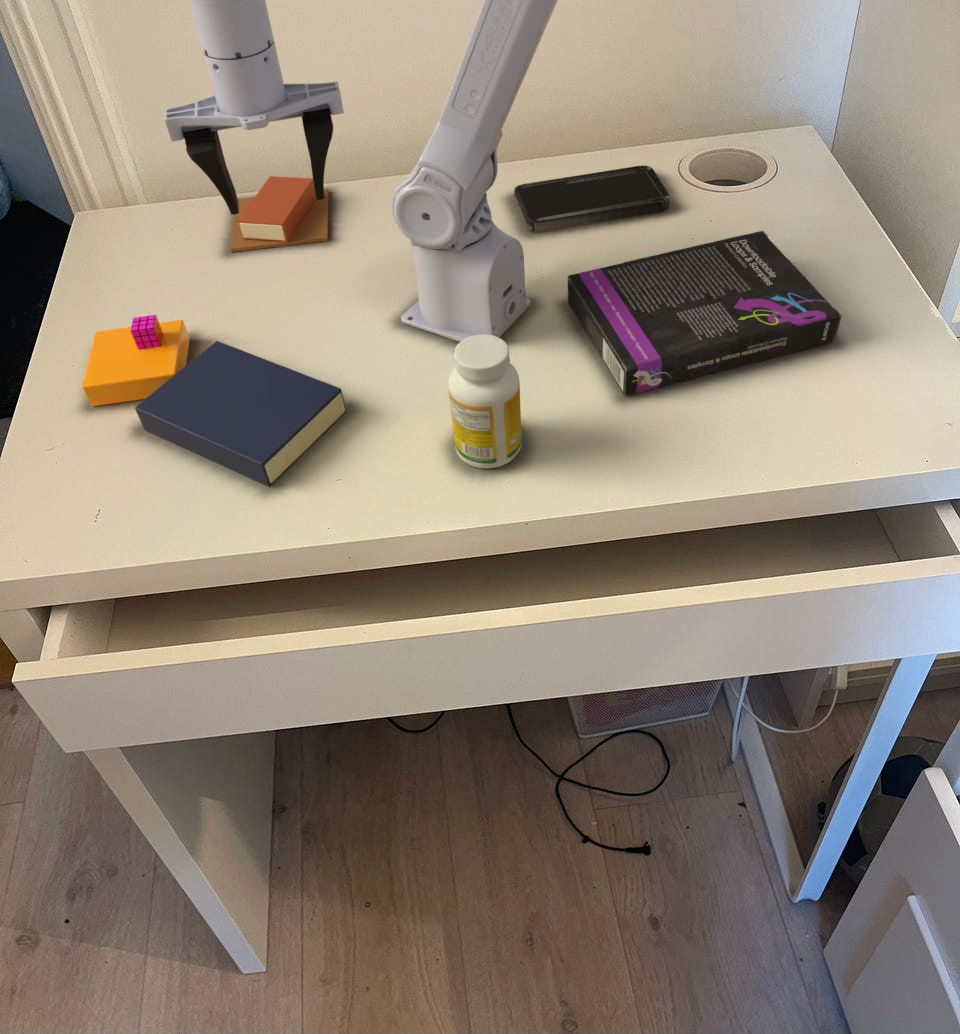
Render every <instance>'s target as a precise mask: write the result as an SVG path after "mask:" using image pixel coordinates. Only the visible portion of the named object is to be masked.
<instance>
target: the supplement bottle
mask: <svg viewBox="0 0 960 1034" xmlns="http://www.w3.org/2000/svg"><path fill="white" fill-rule="evenodd" d="M509 350H510V349H509V346H508V344H507V343H506V341H505V340H504V339H502V338H501V337H496V336H493V335H487V334H480V335H474V336H470V337H468V338H466V339H464V340H462V341H461V342H458V344H456V346H455V348H454V352H453V358H454V368H453V369H452V370H451V372H450V374H449V377H448V382H447V388H448V397H449V406H450V414H451V422H452V432H453V441H454V448H455V452H456V453H457V455H458V457H459V458H460V459H461V460H462V462H464V463H465V464H467V465H469V466H471V467H474V468H478V469H494V468H500V467H502V466H505V465H507V464H508V463H510V462H512V461H513V460H514V459H515V458H516V456H517V455H518V454H519V452H520V450H521V448H522V443H523V434H522V433H523V432H522V414H521V413H522V411H521V387H520V386H521V385H520V376H519V372H518V371H517V369H516V367H515V366H514V365H513V364H512V363H511V358H510V351H509Z"/></svg>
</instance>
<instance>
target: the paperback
mask: <svg viewBox="0 0 960 1034" xmlns="http://www.w3.org/2000/svg"><path fill="white" fill-rule="evenodd" d="M254 197H255V198H254ZM254 197H253V198H254V199H253V200H252V202H251V203H250V204H249V206H248V207H247V208H246V210H245V211H244V213H243V214H242V215H241V217H240V218H239V219H238V224H239V227H240V230H241V234H242V237H243V239H246V240H260V241H275V242H288V241H289V239H290V238H291V236H292V235H293V233H294V232H295V230H296V229H297V227H298V225H299V224H300V222H301V221H302V219H303V218H304V216H305V215H306V213H307V212H308V210H309V209H310V207H311V205H312V204H313V202H314V201H315V199H316V198H317V197H316V193H315V188H314V182H313V177H312V178H310V177H291V176H290V177H289V176H275V175H274V176H271V175H270V176H268V178H267V180H265V182H264V184H263V185H262V187H260V189H259V191H258V192H257V194H256V195H255V196H254Z"/></svg>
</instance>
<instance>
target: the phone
mask: <svg viewBox="0 0 960 1034" xmlns="http://www.w3.org/2000/svg"><path fill="white" fill-rule="evenodd" d="M513 194H514V202H515V205H516V207H517V210H518V213H519V215H520V217H521V220H522V222H523V225H524V227H525V229H526V230H527V231H528V232H533V233H541V232H545V231H552V230H558V229H565V228H569V227H570V228H573V227H576V226H584V225H589V224H595V223H603V222H609V221H614V220H621V219H627V218H632V217H639V216H645V215H650V214H657V213H663V212H666V211H667V210H669V208H670V200H671V196H670V194H669V192H668V191H667V189H666V187H665V186H664V184H663V182H662V181H661V179H660V178H659V176H658V174H657V173H656V172H655V170H654V168H653V167H651V166H649V165H644V164H643V165H642V164H641V165H634V166H629V167H621V168H615V169H609V170H603V171H597V172H591V173H584V174H578V175H572V176H565V177H559V178H553V179H547V180H541V181H533V182H528V183H522V184H518V185H516V186H515V187H514V189H513Z"/></svg>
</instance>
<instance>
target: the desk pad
mask: <svg viewBox="0 0 960 1034" xmlns="http://www.w3.org/2000/svg"><path fill="white" fill-rule="evenodd" d="M324 197H325V198H324V199H321V200H317V198H316V199H315V201H314V202H313V204H312V205H311V207H310V209H309V210H308V212H307V213H306V215H305V216H304V218H303V219H302V221H301V222H300V224H299V225H298V227H297V229H296V230H295V232H294V233H293V235H292V236H291V238H290V239H289V241H288V242H275V241H260V240H246V239H243V237H242V234H241V230H240V227H239V224H238V219H239V218H240V217H241V215H242V214H243V213H244V211H245V210H246V208H247V207H248V206H249V204H250V203H251V202H252V200H253V199H254V198H255V196H254V197H246V198H237V199H238V204H239V214H234V221H233V228H232V235H231V243H230V252H231V253H236V252H243V251H253V250H260V249H261V250H262V249H269V248H278V247H285V246H287V247H288V246H294V245H302V244H312V243H319V242H327V241H329V189H328V188H324Z"/></svg>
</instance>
